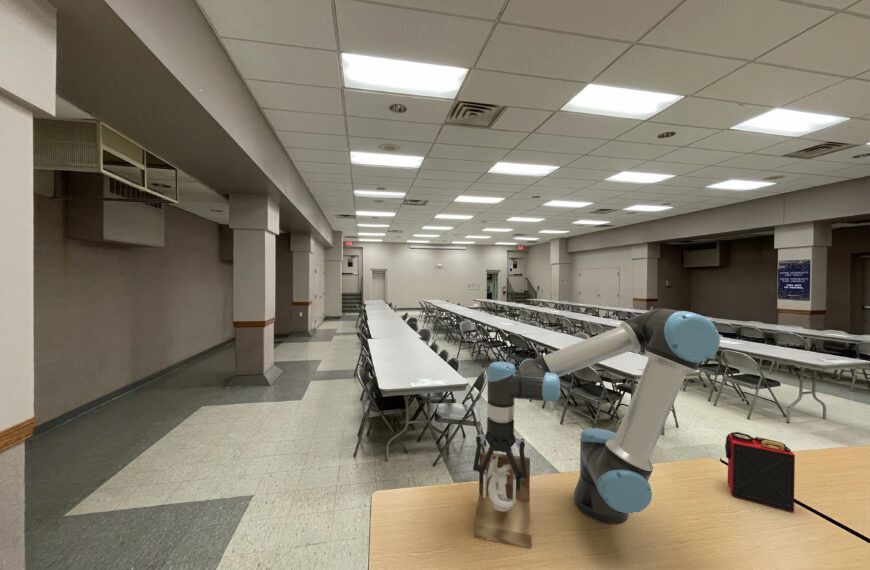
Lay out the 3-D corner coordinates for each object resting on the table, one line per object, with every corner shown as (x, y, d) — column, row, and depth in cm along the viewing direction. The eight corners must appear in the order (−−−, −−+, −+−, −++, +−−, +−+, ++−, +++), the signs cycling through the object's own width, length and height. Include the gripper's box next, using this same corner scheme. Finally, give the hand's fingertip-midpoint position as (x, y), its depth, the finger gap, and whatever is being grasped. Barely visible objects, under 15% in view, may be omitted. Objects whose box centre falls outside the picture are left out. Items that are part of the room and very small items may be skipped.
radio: (784, 496, 108) (785, 435, 108) (796, 514, 99) (798, 448, 99) (721, 480, 116) (722, 423, 116) (727, 496, 108) (728, 435, 108)
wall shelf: (529, 510, 100) (529, 457, 100) (531, 548, 86) (532, 487, 86) (479, 502, 104) (480, 451, 104) (474, 537, 90) (474, 478, 89)
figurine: (517, 513, 89) (518, 469, 89) (489, 515, 89) (490, 470, 88) (505, 488, 100) (506, 449, 100) (480, 489, 99) (481, 450, 99)
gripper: (537, 416, 95) (535, 494, 95) (466, 409, 100) (465, 483, 100) (539, 427, 88) (537, 512, 88) (462, 419, 93) (461, 499, 93)
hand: (499, 497), depth 94 cm, fingers closed on figurine, 8 cm apart
